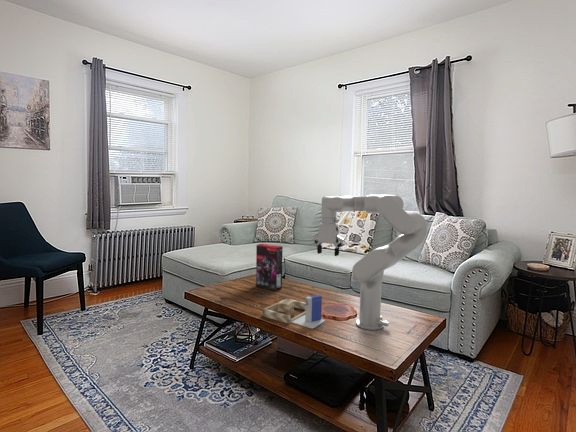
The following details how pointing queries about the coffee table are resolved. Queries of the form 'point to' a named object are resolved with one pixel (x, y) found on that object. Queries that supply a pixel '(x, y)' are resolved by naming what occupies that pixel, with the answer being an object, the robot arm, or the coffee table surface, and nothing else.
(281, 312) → the offcut lower
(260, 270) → the graphics card box
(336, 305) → the coffee table surface
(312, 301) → the walkman
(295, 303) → the rack
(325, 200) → the robot arm
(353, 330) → the coffee table surface
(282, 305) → the offcut upper
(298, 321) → the mat
